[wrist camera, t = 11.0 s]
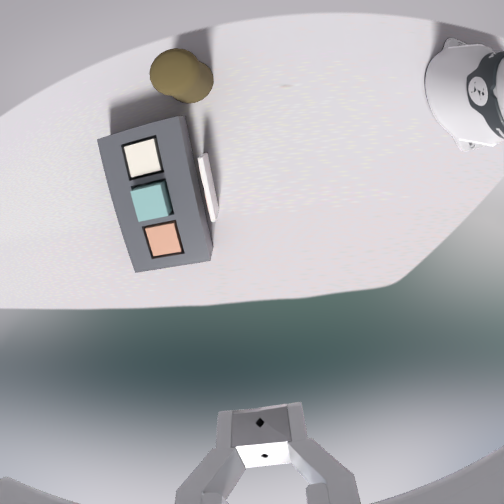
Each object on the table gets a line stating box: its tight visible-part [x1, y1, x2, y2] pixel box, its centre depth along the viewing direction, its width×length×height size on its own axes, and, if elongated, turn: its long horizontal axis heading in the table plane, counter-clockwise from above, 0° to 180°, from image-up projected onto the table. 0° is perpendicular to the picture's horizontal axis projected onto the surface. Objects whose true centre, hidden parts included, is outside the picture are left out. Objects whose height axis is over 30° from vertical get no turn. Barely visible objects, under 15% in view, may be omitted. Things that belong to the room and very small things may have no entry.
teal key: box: [130, 179, 173, 222], centre depth 37 cm, size 4×4×3 cm
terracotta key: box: [145, 220, 183, 256], centre depth 41 cm, size 4×4×3 cm
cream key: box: [124, 138, 163, 177], centre depth 36 cm, size 4×4×3 cm
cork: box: [150, 48, 214, 103], centre depth 30 cm, size 6×6×11 cm
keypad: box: [97, 116, 219, 273], centre depth 38 cm, size 13×19×5 cm
